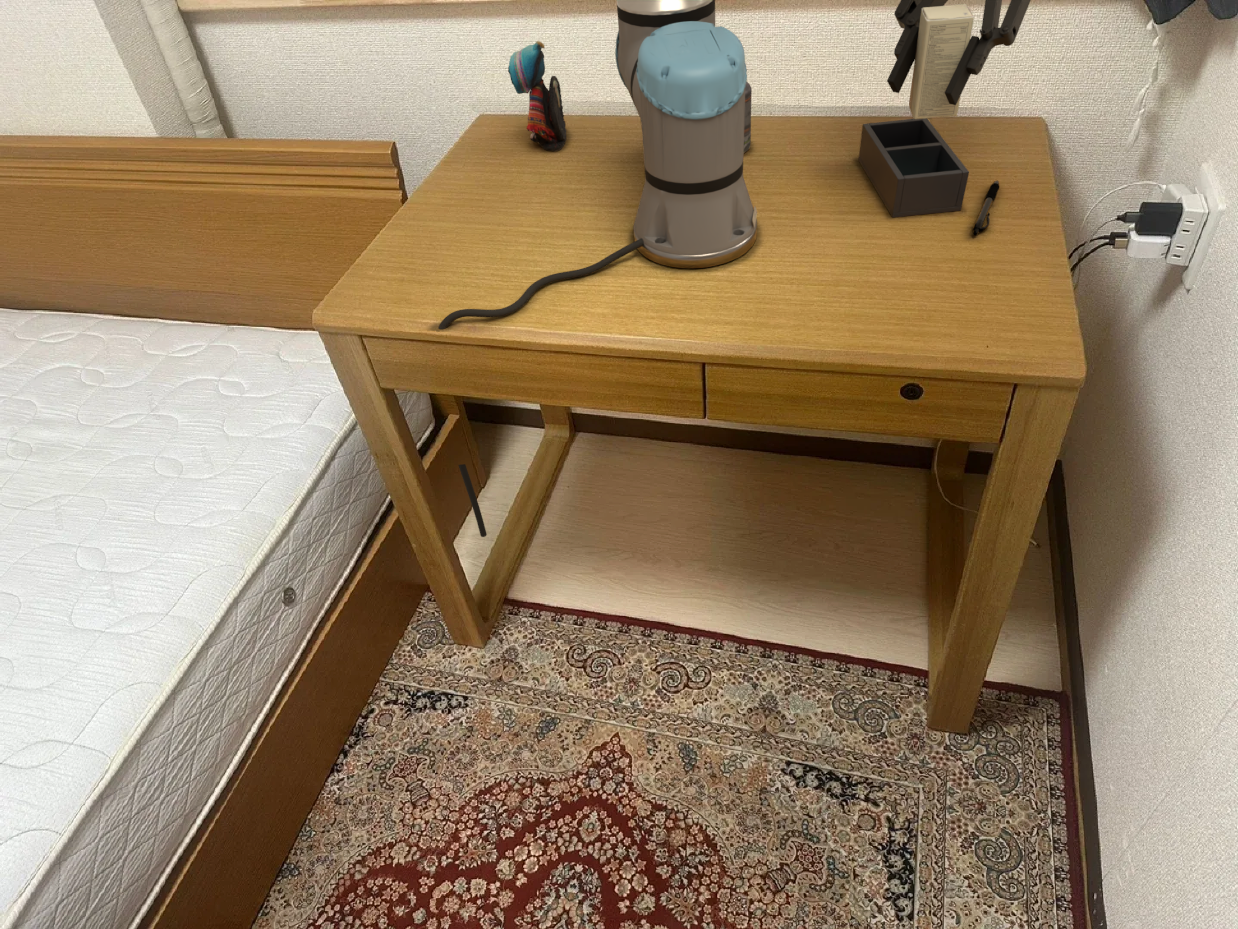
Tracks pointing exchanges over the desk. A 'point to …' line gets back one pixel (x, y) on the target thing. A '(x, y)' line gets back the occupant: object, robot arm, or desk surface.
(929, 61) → the box
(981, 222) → the pen
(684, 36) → the robot arm
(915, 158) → the holder
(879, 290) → the desk surface
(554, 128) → the figurine
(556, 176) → the desk surface
